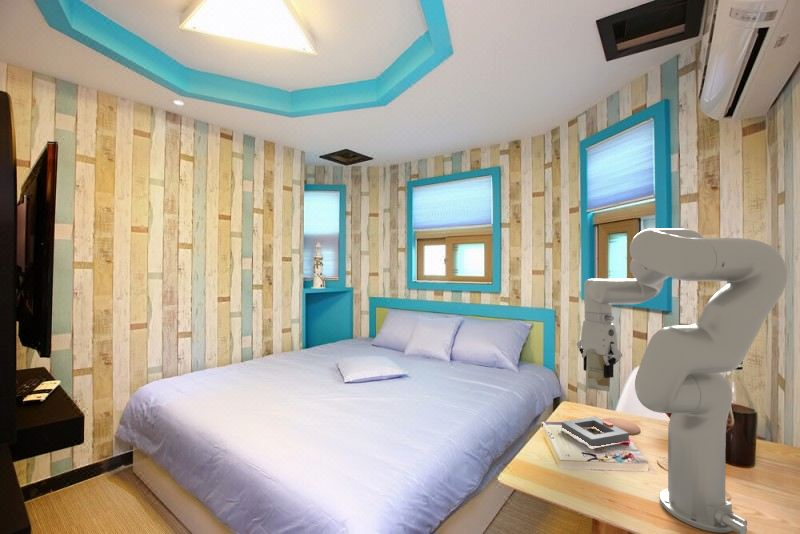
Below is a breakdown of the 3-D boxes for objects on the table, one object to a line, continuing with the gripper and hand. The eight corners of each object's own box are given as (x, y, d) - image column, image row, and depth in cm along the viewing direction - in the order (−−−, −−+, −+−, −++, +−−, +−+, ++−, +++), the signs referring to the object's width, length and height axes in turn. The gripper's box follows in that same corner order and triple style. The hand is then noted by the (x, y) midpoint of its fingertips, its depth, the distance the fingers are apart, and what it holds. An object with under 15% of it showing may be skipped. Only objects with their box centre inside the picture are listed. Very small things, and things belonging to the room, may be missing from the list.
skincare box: (587, 389, 109) (587, 350, 109) (585, 384, 113) (585, 347, 113) (610, 392, 107) (611, 352, 106) (608, 387, 111) (608, 349, 111)
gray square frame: (628, 442, 105) (628, 430, 105) (591, 449, 101) (591, 437, 101) (596, 425, 117) (596, 414, 117) (561, 430, 113) (561, 419, 113)
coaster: (648, 432, 112) (648, 430, 112) (622, 436, 109) (622, 435, 109) (618, 417, 122) (618, 416, 122) (593, 421, 119) (593, 420, 119)
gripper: (632, 321, 103) (632, 381, 103) (585, 313, 119) (585, 365, 119) (613, 322, 100) (613, 383, 100) (567, 314, 117) (567, 367, 117)
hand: (597, 373), depth 110 cm, fingers closed on skincare box, 7 cm apart
